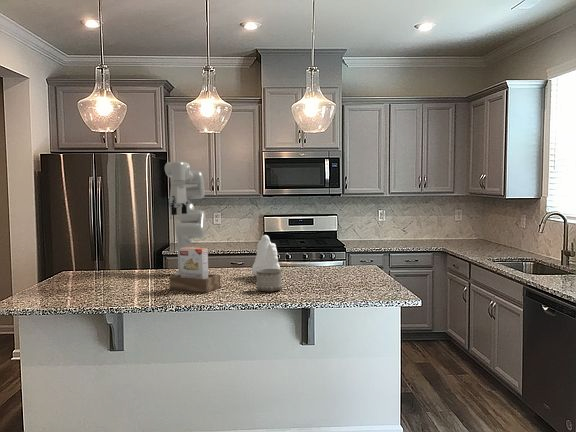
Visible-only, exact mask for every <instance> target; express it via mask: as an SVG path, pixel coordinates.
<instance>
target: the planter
mask: <svg viewBox="0 0 576 432" xmlns="http://www.w3.org/2000/svg"><path fill="white" fill-rule="evenodd" d="M256 273H257V276H256V289H257V291H261V292H263V293H264V292H266V293H273V292H276V291H280V290H282V269H281V268H280V269H272V268H268V269H259V270H257V271H256Z"/></svg>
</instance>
